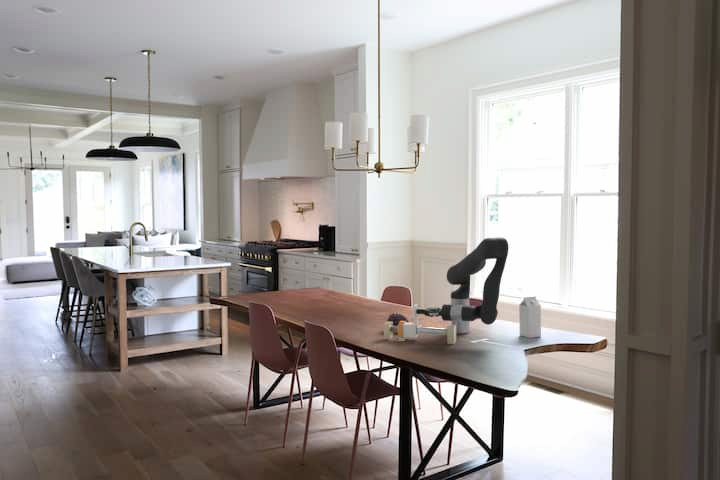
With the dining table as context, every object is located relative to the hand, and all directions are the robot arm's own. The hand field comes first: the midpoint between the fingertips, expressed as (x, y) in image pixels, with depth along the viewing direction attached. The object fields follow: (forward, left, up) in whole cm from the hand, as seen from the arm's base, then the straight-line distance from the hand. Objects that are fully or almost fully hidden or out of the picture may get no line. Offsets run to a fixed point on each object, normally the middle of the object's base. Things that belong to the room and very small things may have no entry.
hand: (416, 311), depth 272 cm
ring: (+1, -7, -13) cm, 15 cm away
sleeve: (0, -3, -12) cm, 12 cm away
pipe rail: (0, +1, -14) cm, 14 cm away
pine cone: (-16, -16, -14) cm, 27 cm away
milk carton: (-29, +47, -14) cm, 57 cm away
